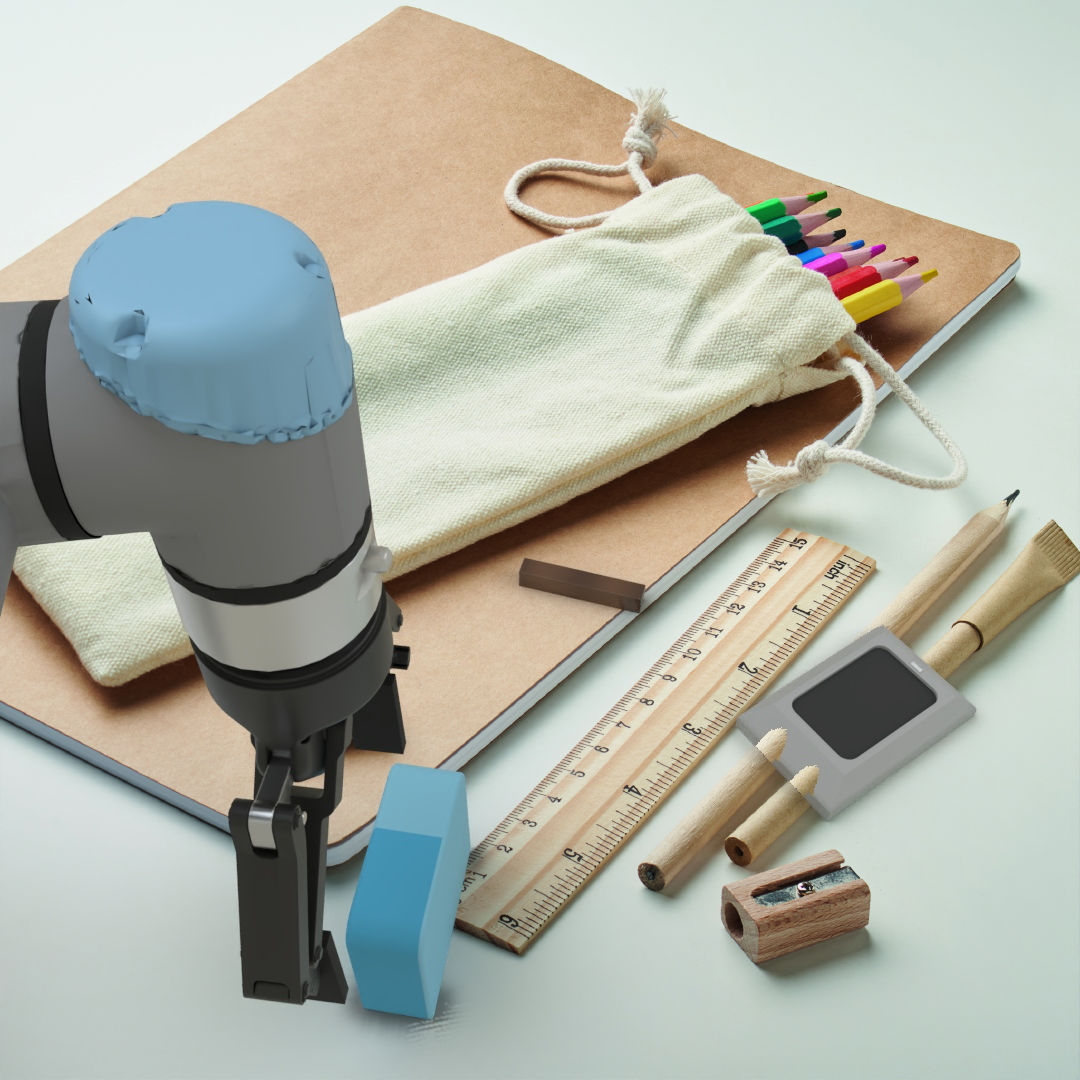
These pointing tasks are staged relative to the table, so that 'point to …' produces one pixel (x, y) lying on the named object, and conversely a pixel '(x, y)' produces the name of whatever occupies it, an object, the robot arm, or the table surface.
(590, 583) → the bar
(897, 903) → the table surface
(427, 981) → the light blue thick block
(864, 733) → the grey badge holder
